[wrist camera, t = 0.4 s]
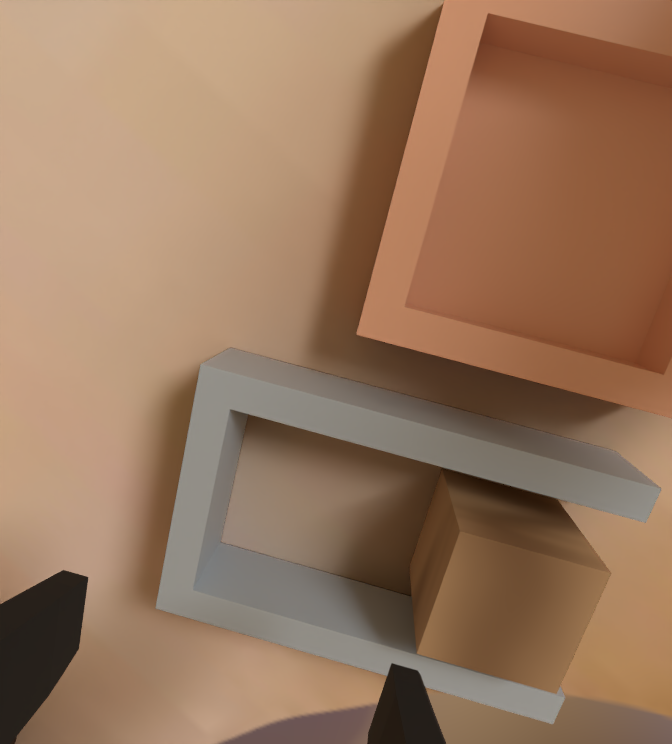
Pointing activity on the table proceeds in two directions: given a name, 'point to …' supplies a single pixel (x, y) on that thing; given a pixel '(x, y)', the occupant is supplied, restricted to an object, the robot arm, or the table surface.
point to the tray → (538, 199)
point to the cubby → (335, 593)
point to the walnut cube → (502, 582)
